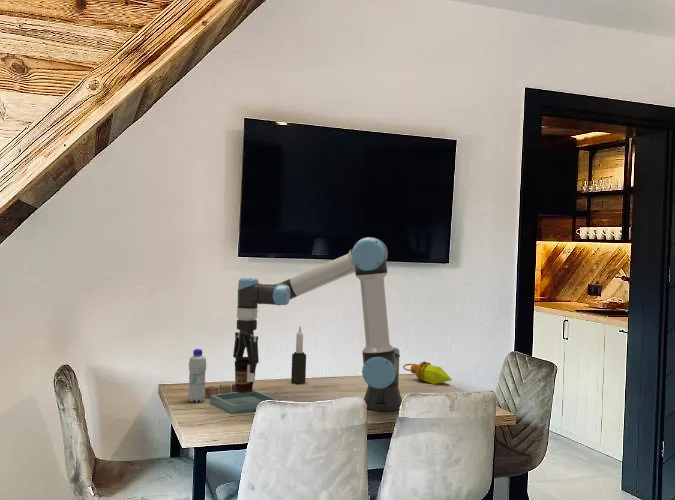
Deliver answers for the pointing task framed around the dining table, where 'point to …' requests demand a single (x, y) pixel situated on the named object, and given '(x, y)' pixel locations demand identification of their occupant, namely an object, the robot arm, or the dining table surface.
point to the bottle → (197, 376)
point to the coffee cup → (242, 376)
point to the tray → (239, 401)
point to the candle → (298, 361)
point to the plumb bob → (428, 373)
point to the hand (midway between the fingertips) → (244, 379)
